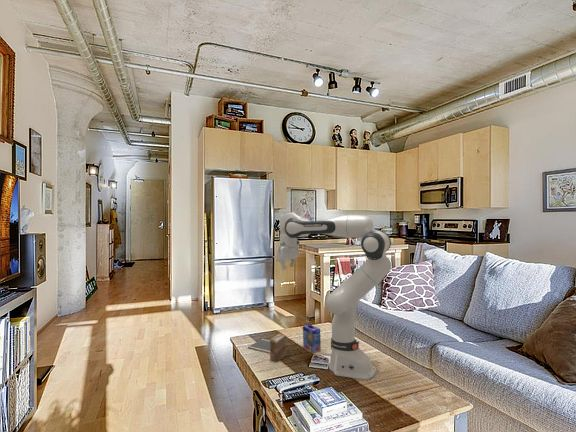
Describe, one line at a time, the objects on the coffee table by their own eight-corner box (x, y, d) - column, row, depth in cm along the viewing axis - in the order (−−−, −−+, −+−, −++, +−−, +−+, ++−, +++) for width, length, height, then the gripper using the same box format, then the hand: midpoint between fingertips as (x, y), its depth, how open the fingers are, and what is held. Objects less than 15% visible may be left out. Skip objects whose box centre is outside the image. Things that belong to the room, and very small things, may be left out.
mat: (284, 345, 191) (284, 343, 191) (271, 353, 179) (271, 352, 179) (261, 340, 199) (261, 338, 199) (247, 348, 187) (247, 346, 187)
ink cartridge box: (302, 347, 188) (302, 321, 188) (310, 344, 192) (309, 319, 192) (313, 352, 180) (313, 326, 180) (321, 350, 183) (320, 324, 184)
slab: (285, 355, 176) (285, 335, 177) (276, 362, 169) (276, 340, 169) (279, 354, 178) (279, 333, 179) (270, 360, 171) (269, 339, 171)
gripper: (284, 243, 167) (284, 271, 167) (300, 241, 185) (301, 265, 185) (273, 243, 170) (273, 270, 169) (290, 241, 188) (290, 265, 188)
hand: (288, 268), depth 177 cm, fingers open, 8 cm apart
